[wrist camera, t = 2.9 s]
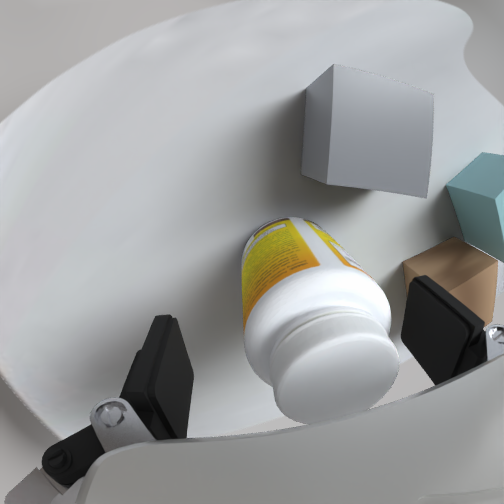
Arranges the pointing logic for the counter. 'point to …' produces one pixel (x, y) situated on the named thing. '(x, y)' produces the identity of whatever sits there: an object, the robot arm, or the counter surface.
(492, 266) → the walnut block
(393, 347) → the supplement bottle
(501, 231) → the teal block
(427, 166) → the gray block
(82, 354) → the counter surface
